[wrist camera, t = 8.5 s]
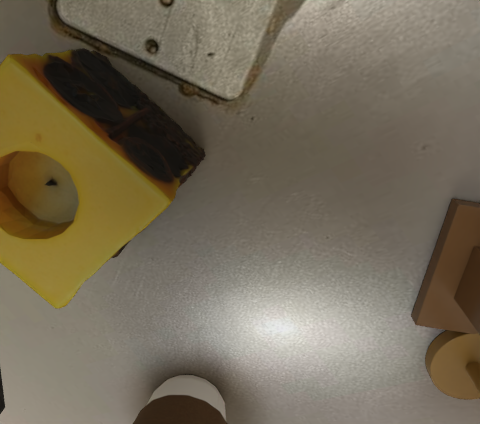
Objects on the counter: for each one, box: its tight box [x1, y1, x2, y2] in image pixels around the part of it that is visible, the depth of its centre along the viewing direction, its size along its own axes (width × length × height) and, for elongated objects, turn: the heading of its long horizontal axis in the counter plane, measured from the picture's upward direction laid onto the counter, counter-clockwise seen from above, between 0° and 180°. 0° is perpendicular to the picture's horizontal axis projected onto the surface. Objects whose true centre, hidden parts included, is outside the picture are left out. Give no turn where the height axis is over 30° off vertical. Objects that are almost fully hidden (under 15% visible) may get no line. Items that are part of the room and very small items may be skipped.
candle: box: [0, 48, 205, 308], centre depth 26 cm, size 10×10×10 cm
